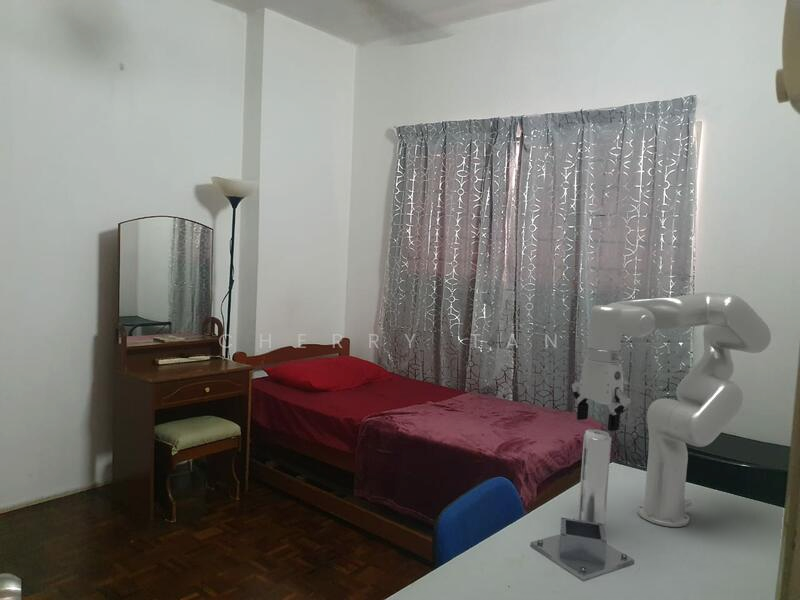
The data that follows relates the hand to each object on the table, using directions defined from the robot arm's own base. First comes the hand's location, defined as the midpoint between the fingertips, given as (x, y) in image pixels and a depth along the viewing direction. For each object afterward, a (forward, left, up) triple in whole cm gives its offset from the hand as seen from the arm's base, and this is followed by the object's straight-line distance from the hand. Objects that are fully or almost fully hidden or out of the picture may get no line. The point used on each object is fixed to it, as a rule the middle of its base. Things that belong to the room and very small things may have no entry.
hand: (597, 424), depth 144 cm
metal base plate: (+12, +8, -27) cm, 30 cm away
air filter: (0, 0, -27) cm, 27 cm away
